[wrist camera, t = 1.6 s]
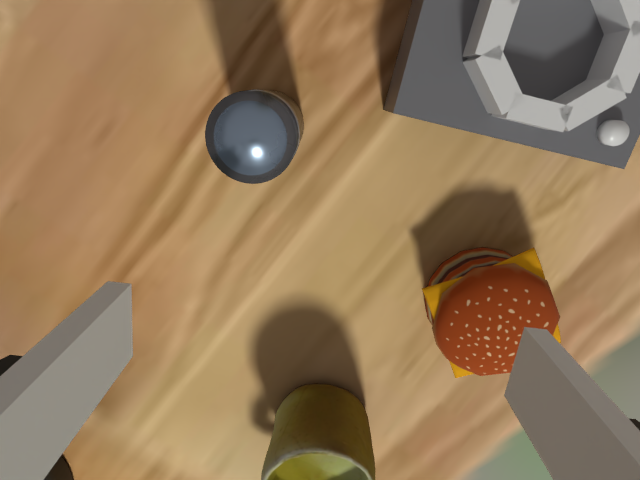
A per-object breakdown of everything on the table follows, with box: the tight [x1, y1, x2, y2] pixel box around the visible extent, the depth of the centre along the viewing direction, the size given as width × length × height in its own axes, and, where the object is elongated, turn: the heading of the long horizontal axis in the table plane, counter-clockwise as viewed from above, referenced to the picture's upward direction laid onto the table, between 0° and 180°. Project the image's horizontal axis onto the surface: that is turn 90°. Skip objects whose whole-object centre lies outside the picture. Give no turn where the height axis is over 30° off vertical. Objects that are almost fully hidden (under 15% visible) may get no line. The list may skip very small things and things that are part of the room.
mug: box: [261, 384, 375, 480], centre depth 39 cm, size 12×10×10 cm
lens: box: [205, 90, 304, 184], centre depth 29 cm, size 5×5×10 cm
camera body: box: [383, 0, 640, 169], centre depth 29 cm, size 16×12×8 cm
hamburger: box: [422, 247, 561, 378], centre depth 36 cm, size 9×10×7 cm
